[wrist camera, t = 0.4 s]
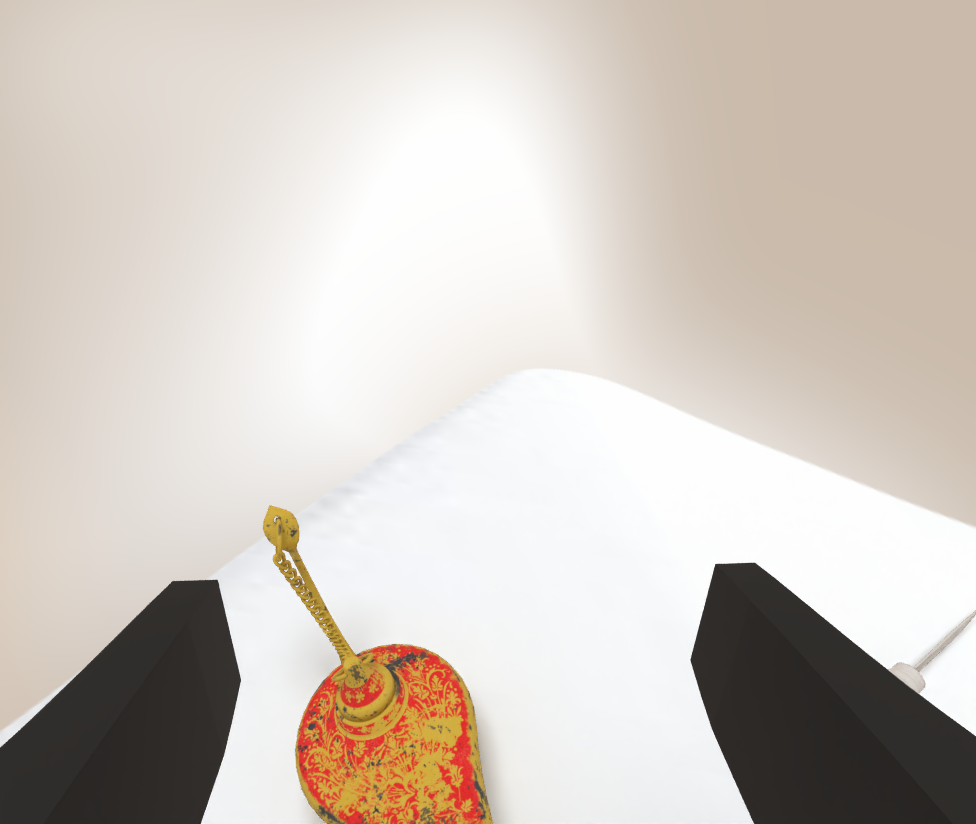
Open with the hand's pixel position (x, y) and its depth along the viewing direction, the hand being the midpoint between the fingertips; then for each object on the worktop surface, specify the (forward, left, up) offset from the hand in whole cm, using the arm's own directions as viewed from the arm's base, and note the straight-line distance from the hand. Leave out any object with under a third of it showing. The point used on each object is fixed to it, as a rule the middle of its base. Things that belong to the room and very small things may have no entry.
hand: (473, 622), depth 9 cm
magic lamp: (+5, +4, -19) cm, 20 cm away
